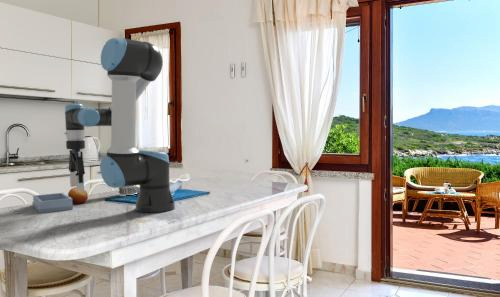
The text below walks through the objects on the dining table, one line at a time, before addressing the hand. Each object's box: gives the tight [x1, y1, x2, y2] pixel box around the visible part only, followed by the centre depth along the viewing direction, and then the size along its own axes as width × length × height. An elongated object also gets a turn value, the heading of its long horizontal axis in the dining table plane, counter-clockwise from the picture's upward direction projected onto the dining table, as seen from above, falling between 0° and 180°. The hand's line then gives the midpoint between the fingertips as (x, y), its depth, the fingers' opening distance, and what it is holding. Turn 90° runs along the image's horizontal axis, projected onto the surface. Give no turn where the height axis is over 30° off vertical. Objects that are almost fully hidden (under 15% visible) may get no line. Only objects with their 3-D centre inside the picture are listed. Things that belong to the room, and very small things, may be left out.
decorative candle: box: [118, 186, 138, 197], centre depth 213 cm, size 9×9×25 cm
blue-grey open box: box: [32, 192, 74, 214], centre depth 184 cm, size 12×22×4 cm, turn 33°
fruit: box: [67, 186, 89, 205], centre depth 193 cm, size 8×8×8 cm
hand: (76, 188), depth 193 cm, fingers open, 13 cm apart
